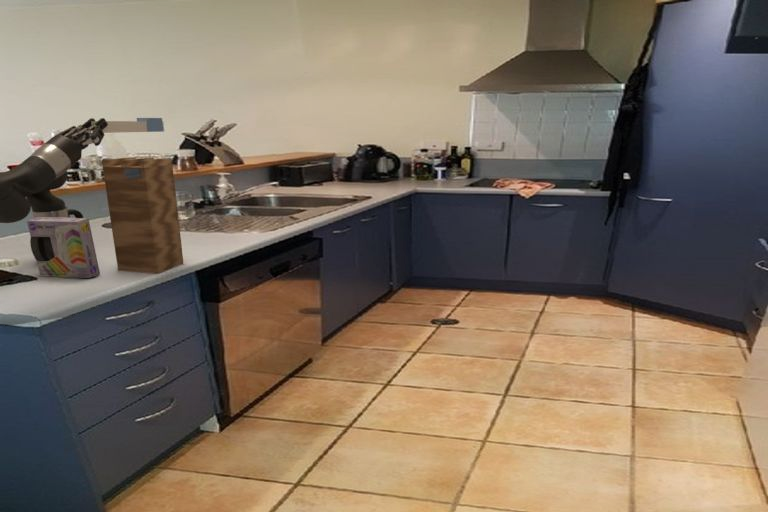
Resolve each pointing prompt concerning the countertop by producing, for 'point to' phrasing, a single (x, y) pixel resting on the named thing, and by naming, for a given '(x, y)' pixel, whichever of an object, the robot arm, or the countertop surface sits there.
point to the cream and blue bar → (134, 125)
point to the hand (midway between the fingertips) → (99, 121)
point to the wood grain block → (143, 213)
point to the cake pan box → (63, 247)
